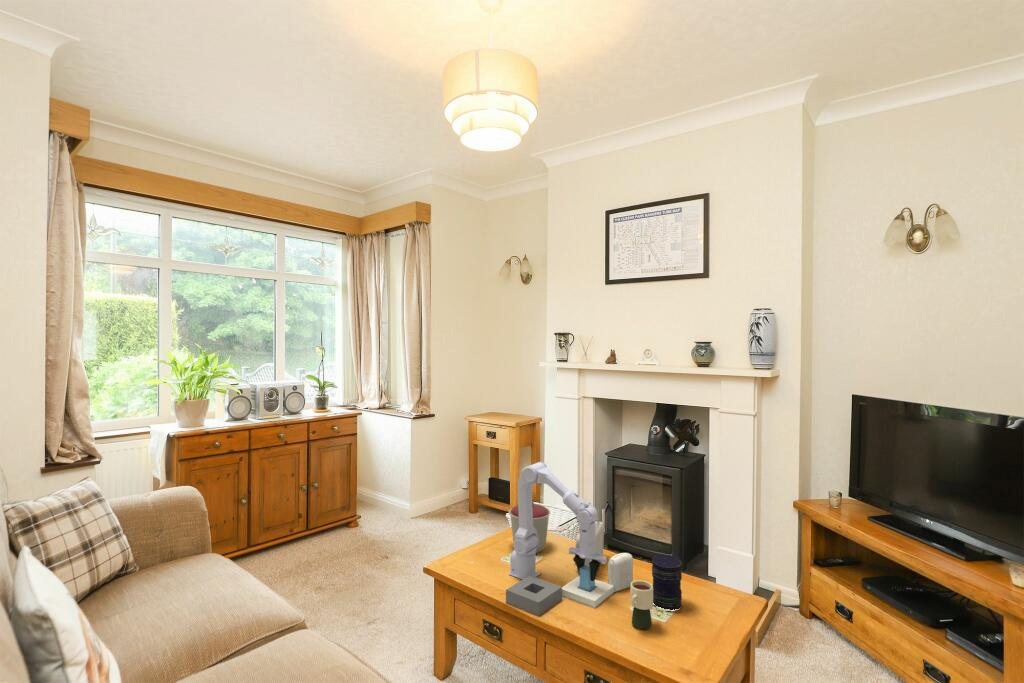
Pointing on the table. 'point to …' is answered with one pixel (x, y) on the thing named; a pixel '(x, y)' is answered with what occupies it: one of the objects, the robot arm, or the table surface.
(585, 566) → the plug
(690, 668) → the table surface
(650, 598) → the character mug
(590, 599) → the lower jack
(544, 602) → the grey square socket block
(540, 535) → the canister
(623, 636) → the table surface
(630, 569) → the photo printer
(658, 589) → the storage jar
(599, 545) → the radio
